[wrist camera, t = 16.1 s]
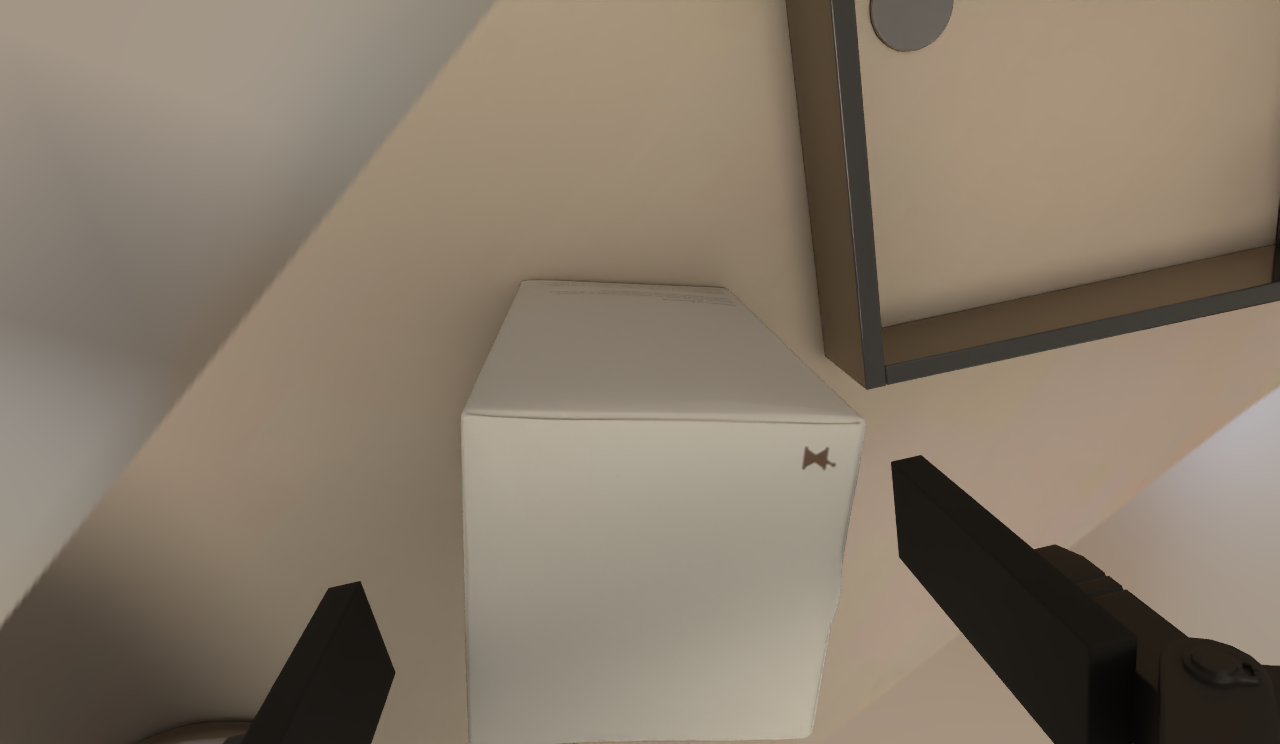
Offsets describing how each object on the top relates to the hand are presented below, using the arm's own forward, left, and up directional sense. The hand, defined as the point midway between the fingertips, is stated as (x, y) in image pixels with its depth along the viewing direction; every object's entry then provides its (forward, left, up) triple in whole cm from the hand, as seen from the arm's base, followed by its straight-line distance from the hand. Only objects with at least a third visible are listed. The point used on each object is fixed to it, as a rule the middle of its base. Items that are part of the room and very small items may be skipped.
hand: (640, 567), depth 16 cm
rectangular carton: (0, 0, -14) cm, 14 cm away
